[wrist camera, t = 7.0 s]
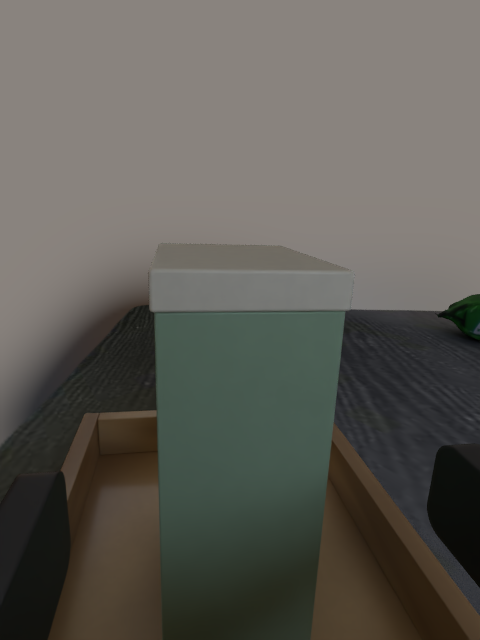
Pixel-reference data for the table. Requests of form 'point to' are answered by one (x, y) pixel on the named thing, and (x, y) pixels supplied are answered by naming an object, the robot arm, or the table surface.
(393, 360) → the table surface
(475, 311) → the snack package
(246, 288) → the green lidded canister
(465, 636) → the desk tray
